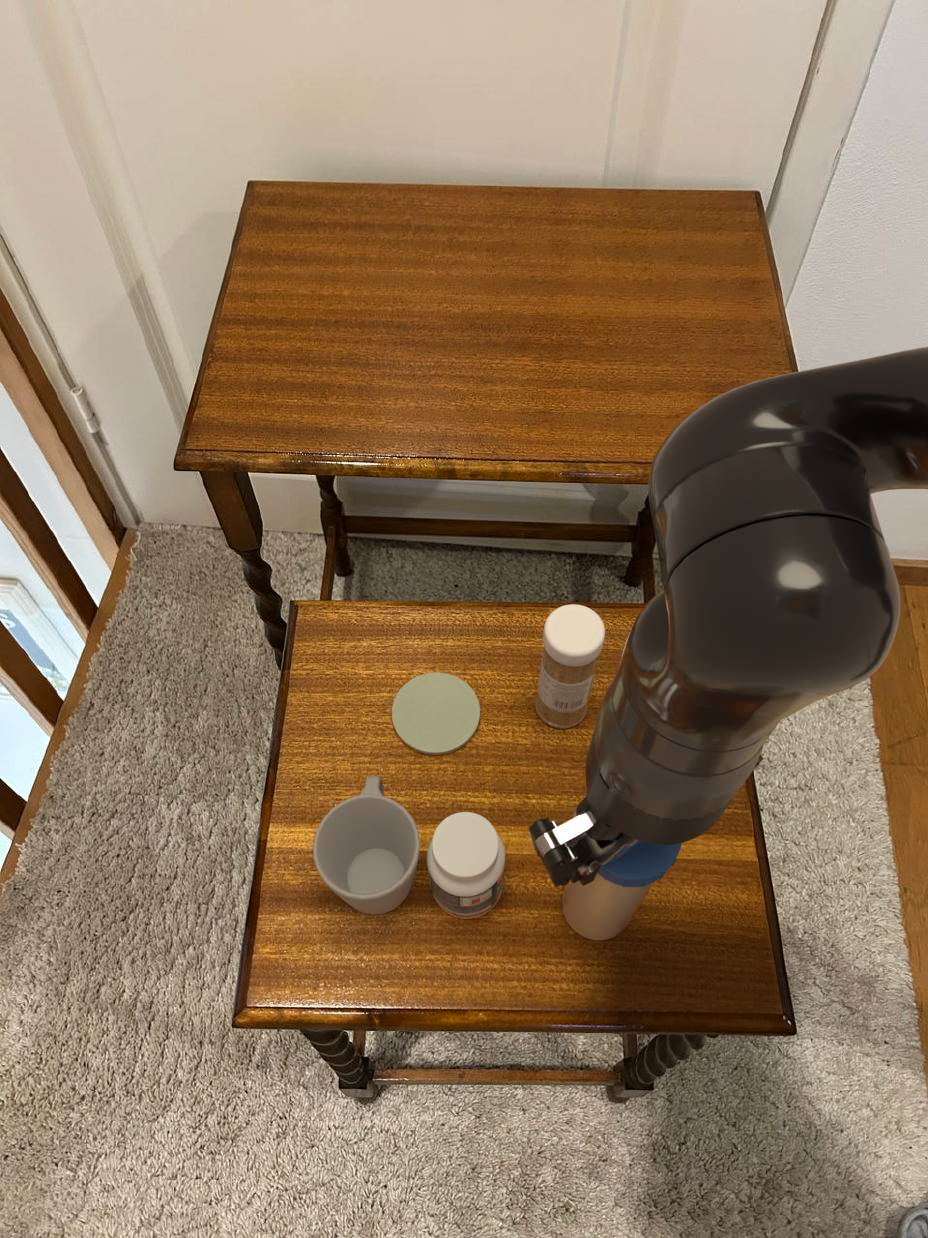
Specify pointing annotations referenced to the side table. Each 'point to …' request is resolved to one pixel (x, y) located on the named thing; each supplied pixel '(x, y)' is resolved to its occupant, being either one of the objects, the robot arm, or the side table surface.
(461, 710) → the coaster
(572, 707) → the sprinkles bottle
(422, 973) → the side table surface
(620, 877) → the lid
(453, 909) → the pill bottle
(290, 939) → the side table surface
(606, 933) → the beige plastic cylinder
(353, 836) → the cup
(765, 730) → the robot arm
